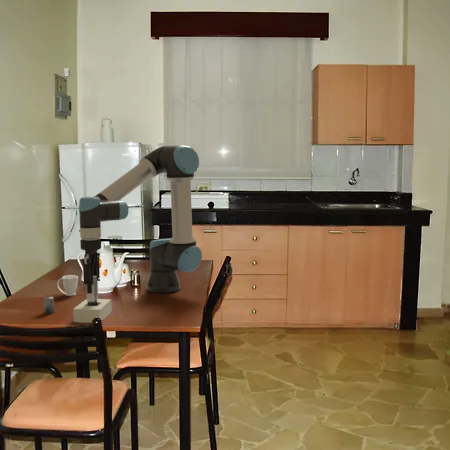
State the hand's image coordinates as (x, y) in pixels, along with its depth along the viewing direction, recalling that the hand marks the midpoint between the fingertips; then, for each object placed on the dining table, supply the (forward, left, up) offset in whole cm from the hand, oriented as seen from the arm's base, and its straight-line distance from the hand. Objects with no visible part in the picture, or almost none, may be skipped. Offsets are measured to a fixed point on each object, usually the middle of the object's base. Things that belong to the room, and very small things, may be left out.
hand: (92, 299), depth 204 cm
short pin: (+19, -4, -7) cm, 20 cm away
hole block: (0, 0, -7) cm, 7 cm away
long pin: (0, 0, -3) cm, 3 cm away
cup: (+22, -31, -7) cm, 39 cm away
